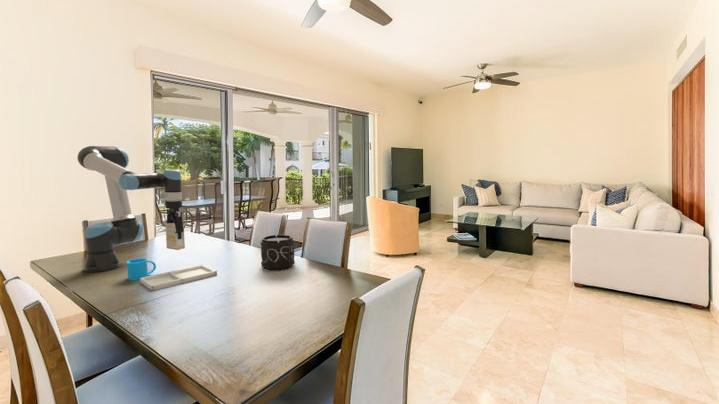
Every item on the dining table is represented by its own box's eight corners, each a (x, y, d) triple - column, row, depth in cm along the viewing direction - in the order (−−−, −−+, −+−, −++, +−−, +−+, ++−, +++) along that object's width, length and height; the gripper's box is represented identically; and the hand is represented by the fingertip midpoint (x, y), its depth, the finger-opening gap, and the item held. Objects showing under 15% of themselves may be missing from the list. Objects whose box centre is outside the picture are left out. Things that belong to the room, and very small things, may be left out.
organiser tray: (140, 282, 162) (139, 278, 162) (203, 268, 184) (202, 264, 183) (151, 290, 152) (151, 286, 151) (217, 274, 173) (216, 270, 173)
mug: (129, 281, 164) (128, 264, 163) (126, 277, 170) (125, 260, 169) (158, 275, 172) (157, 259, 171) (154, 271, 178) (153, 256, 177)
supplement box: (185, 248, 182) (184, 223, 180) (177, 250, 177) (176, 225, 176) (174, 246, 185) (173, 222, 183) (166, 248, 181) (164, 223, 179)
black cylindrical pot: (284, 273, 175) (283, 242, 173) (254, 269, 181) (253, 240, 179) (301, 263, 192) (301, 235, 190) (273, 260, 198) (272, 233, 196)
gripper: (158, 198, 183) (160, 241, 185) (173, 203, 168) (175, 248, 171) (173, 197, 188) (175, 238, 191) (190, 201, 173) (191, 246, 176)
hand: (175, 243), depth 181 cm, fingers closed on supplement box, 9 cm apart
